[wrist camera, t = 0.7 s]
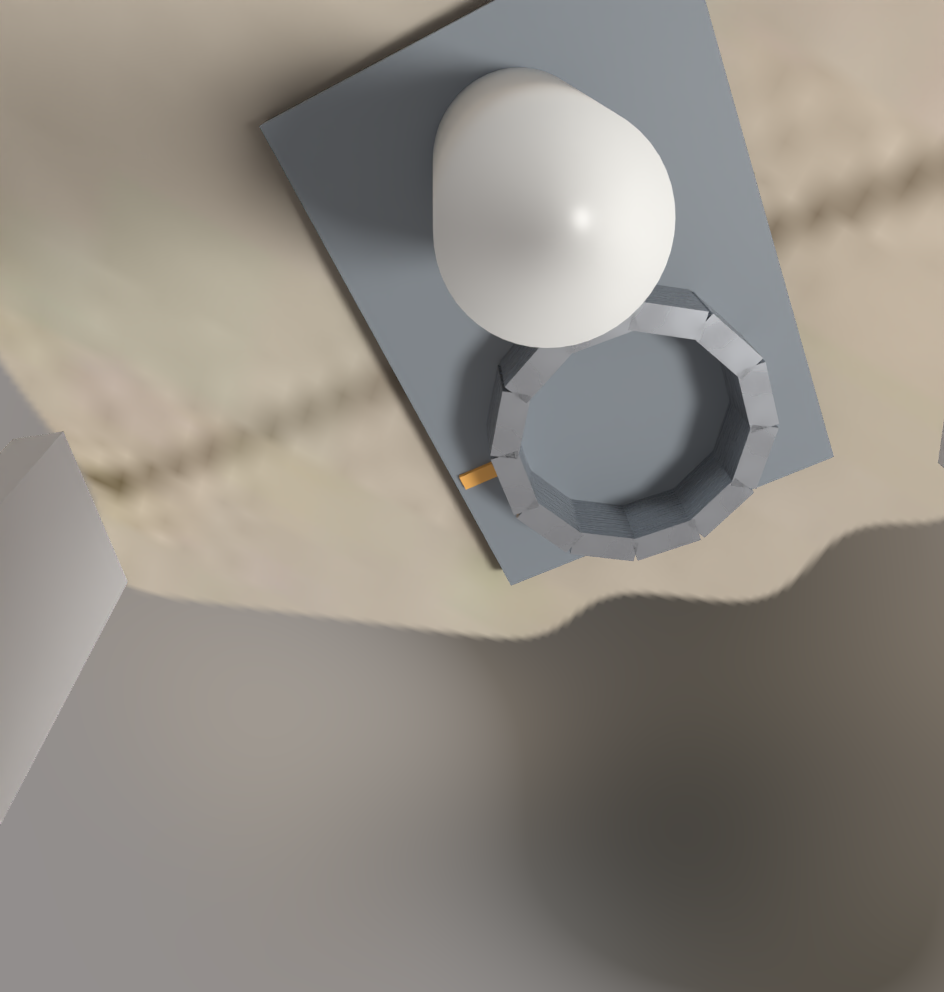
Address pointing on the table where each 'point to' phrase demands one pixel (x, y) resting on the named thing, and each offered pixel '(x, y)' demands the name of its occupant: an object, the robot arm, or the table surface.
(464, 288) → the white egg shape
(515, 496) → the duct collar
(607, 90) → the board
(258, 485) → the table surface
